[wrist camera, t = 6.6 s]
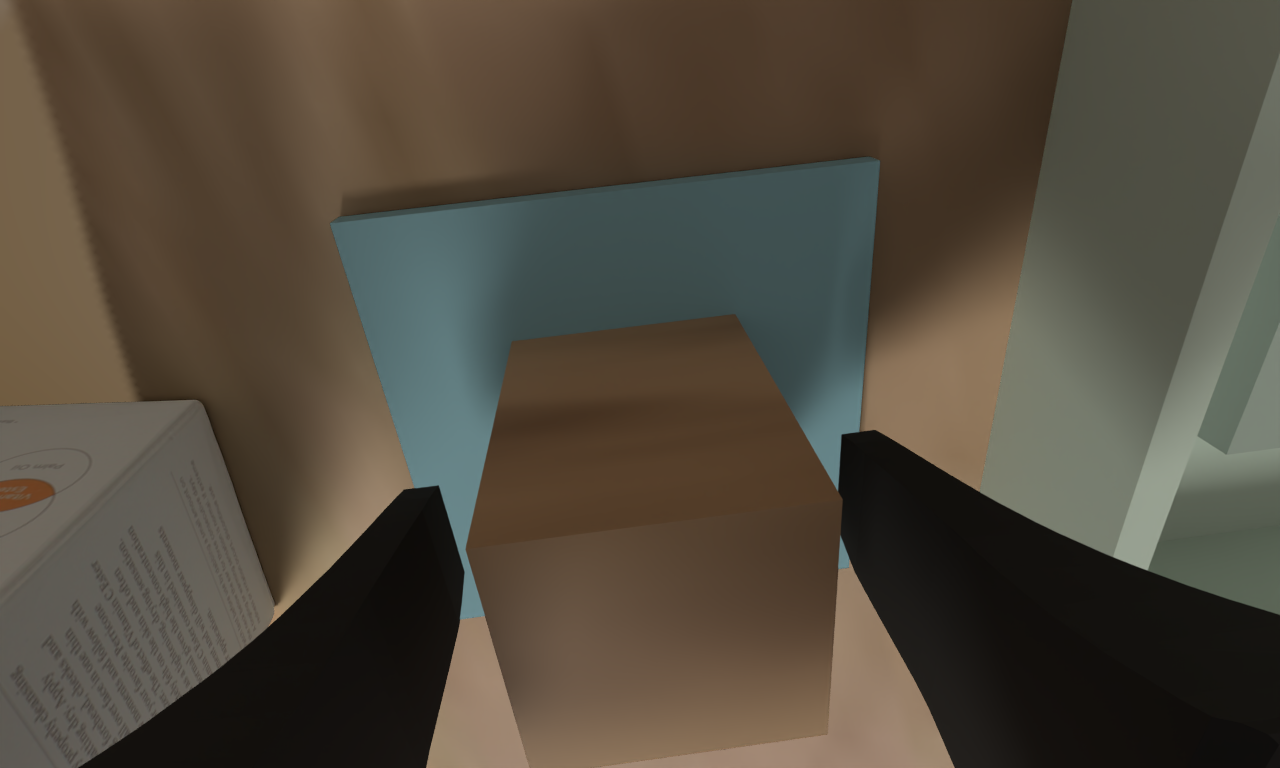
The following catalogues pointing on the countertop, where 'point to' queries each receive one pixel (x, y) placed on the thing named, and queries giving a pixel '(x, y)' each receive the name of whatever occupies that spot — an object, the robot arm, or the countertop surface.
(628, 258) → the teal mat
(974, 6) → the countertop surface
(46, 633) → the small box
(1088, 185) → the crate
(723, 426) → the walnut block
